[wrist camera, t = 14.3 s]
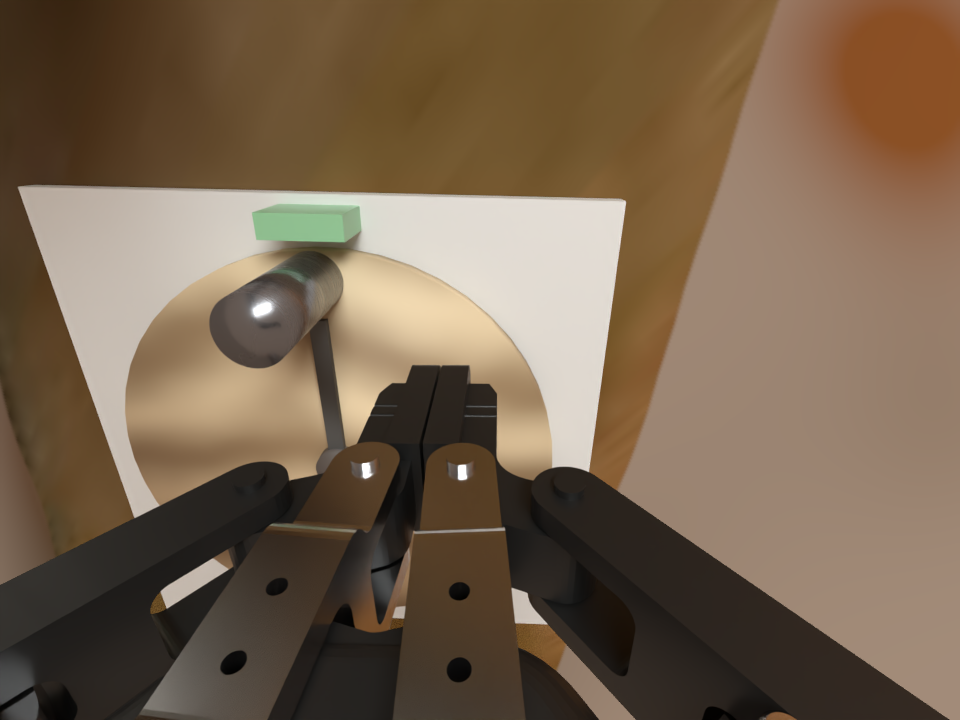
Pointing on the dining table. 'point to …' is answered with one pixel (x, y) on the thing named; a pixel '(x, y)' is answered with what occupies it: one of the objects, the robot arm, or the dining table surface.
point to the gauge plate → (337, 224)
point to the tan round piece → (309, 367)
